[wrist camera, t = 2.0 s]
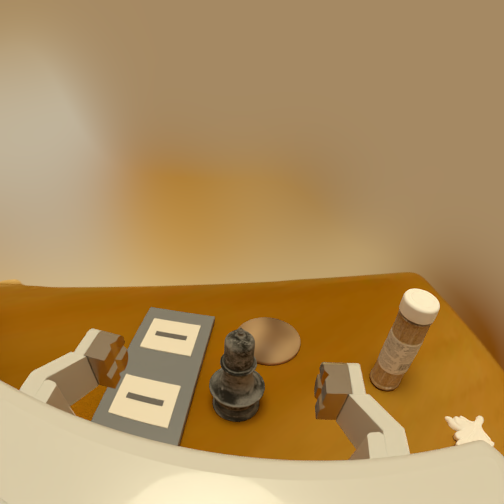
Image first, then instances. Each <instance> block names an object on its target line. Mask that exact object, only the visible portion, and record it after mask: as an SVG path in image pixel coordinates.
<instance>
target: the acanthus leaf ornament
mask: <svg viewBox="0 0 504 504" xmlns="http://www.w3.org/2000/svg"><path fill="white" fill-rule="evenodd" d="M445 420H446V421H447V423H448V425H449V426H450V427H451V428H452V429H453V430H456V431H457V432H456V433H455V434H454V436H453V438H454V440H456V441H457V442H456V444H455V446H456V445H460V444H464V443H468V442H472V441H477V440H483V441H485V442H487V443H488V444H490V445H491V446H492V447H493V446H494V442H492V441H491V439H490V437H489V436H488V435H487V434H486V433H485V432H484V431H483V429H482V424H483V421H484V419H483V417H482V416H477V417H476V420H475V421H469V420H468V419H466V418H464V417H463V416H460V417H454V418H453V419H452V418H451V417H448V416H446V417H445Z"/></svg>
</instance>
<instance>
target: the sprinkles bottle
mask: <svg viewBox="0 0 504 504" xmlns="http://www.w3.org/2000/svg"><path fill="white" fill-rule="evenodd" d="M399 308H400V309H399V312H398V315H397V317H396V320H395V322H394V324H393V326H392V328H391V330H390V332H389V334H388V337H387V339H386V341H385V343H384V345H383V348H382V350H381V352H380V354H379V357H378V360H377V362H376V364H375V366H374V368H373V369H372V370H371V373H370V379H371V381H372V383H373V384H374V385H375V386H376V387H377V388H379V389H382V390H386V391H388V390H393V389H395V388H397V387H398V385H399V384H400V381H401V379H402V377H403V375H404V374H405V372H406V371H407V370H408V368H409V367H410V365H411V363H412V361H413V359H414V358H415V356H416V354H417V352H418V350H419V348H420V347H421V345H422V343H423V340H424V338H425V336H426V333H427V331H428V329H429V327H430V325H431V324H432V323H433V322H434V320H435V318H436V316H437V314H438V311H439V309H440V304H439V302H438V300H437V299H436V298H435V297H434V296H433V295H432V294H430V293H429V292H427V291H424V290H421V289H410V290H407V291H406V292H405V293H404V296H403V298H402V300H401V303H400V306H399Z"/></svg>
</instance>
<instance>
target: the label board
mask: <svg viewBox="0 0 504 504" xmlns="http://www.w3.org/2000/svg"><path fill="white" fill-rule="evenodd" d="M214 321H215V317H213V316H206V315H199V314H192V313H185V312H178V311H172V310H166V309H160V308H154V307H151V308H150V309H149V311H148V313H147V315H146V316H145V318H144V320H143V322H142V324H141V325H140V327H139V329H138V331H137V333H136V335H135V336H134V338H133V340H132V342H131V344H130V346H129V348H128V349H127V351H128V363H127V366H126V368H125V370H124V371H122V372H121V373H120V376H121V378H120V380H119V382H118V384H117V386H116V388H115V389H114V388H110V387H108V388H107V390H106V392H105V394H104V396H103V398H102V400H101V402H100V404H99V406H98V408H97V410H96V412H95V414H94V416H93V418H92V420H91V422H94V423H97V424H100V425H103V426H106V427H109V428H112V429H115V430H118V431H121V432H125V433H128V434H131V435H135V436H139V437H142V438H146V439H150V440H154V441H158V442H162V443H166V444H171V445H175V446H179V445H180V441H181V438H182V434H183V430H184V427H185V423H186V420H187V416H188V412H189V409H190V405H191V402H192V398H193V395H194V391H195V387H196V384H197V380H198V377H199V373H200V370H201V366H202V363H203V359H204V356H205V352H206V349H207V345H208V342H209V338H210V335H211V332H212V328H213V325H214Z"/></svg>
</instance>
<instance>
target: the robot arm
mask: <svg viewBox="0 0 504 504" xmlns="http://www.w3.org/2000/svg"><path fill="white" fill-rule="evenodd" d="M124 343H125V341H124V338H123V336H121V335H117V334H113V333H109V332H105V331H101V330H97V329H93V328H92V329H90V330H89V331H88V332H87V334H86V335H85V337H84V338H83V340H82V341H81V343H80V344H79V345H78V347H77V348H76V350H75V351H74V352H70V353H68V354H66V355H64V356H62V357H60V358H58V359H56V360H54V361H52V362H50V363H48V364H46V365H44V366H42V367H40V368H38V369H36V370H34V371H32V372H31V373H30V375H29V376H28V378H27V379H26V381H25V382H24V384H23V385H22V387H21V388H20V390H18V389H16V388H14V387H12V386H10V385H8V384H6V383H4V382H3V381H1V380H0V504H504V456H503V455H502V454H501V453H500V452H498V451H497V450H496V449H495V448H494V447H492V446H491V445H490V444H488V443H487V442H485V441H483V440H477V441H472V442H468V443H464V444H460V445H456V446H451V447H447V448H442V449H437V450H432V451H426V452H420V453H414V454H410V452H409V447H408V443H407V438H406V434H405V429H404V428H403V427H402V426H401V425H400V424H399V423H398V422H397V421H396V420H395V419H394V418H393V417H392V416H391V415H390V414H389V413H388V412H387V411H386V410H385V409H383V408H382V407H381V406H380V405H379V404H378V403H377V402H376V401H375V400H374V399H373V398H372V397H371V396H370V395H369V394H366V392H365V387H364V382H363V377H362V373H361V368H360V365H359V363H331V362H322V364H321V366H320V374H319V375H317V378H316V382H315V398H316V399H317V402H316V405H315V412H316V419H324V420H336V422H337V423H338V424H339V426H340V427H341V429H342V430H343V431H344V433H345V434H346V436H347V437H348V438H349V440H350V441H351V442H352V444H353V445H354V447H355V448H356V449H357V450H356V451H355V452H354V454H353V455H352V456H351V457H350V459H349V460H336V461H300V460H277V459H263V458H252V457H243V456H234V455H227V454H220V453H213V452H207V451H201V450H196V449H190V448H185V447H180V446H175V445H171V444H166V443H162V442H158V441H154V440H150V439H146V438H142V437H139V436H135V435H131V434H128V433H125V432H121V431H118V430H115V429H112V428H109V427H106V426H103V425H100V424H97V423H94V422H91V421H88V420H86V419H83V418H80V417H78V416H75V414H74V412H73V411H72V409H71V408H70V406H71V405H73V404H74V403H75V402H77V401H78V400H79V399H81V398H82V397H83V396H85V395H86V394H88V393H89V392H90V391H92V390H93V389H94V388H96V387H97V386H98V384H99V385H102V386H106V387H110V388H114V389H115V388H116V386H117V384H118V382H119V380H120V378H121V376H120V373H121V372H122V371H124V370H125V368H126V366H127V363H128V351H127V349H126V348H125V347H124V346H123V345H124Z"/></svg>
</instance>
